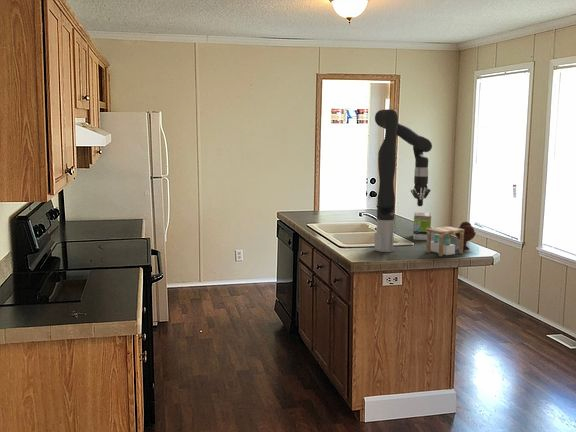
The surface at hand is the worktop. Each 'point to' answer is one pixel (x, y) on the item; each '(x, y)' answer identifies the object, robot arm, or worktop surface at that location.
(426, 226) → the tea box
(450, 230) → the beige wooden stool
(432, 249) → the white and teal block
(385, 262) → the worktop surface
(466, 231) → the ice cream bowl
